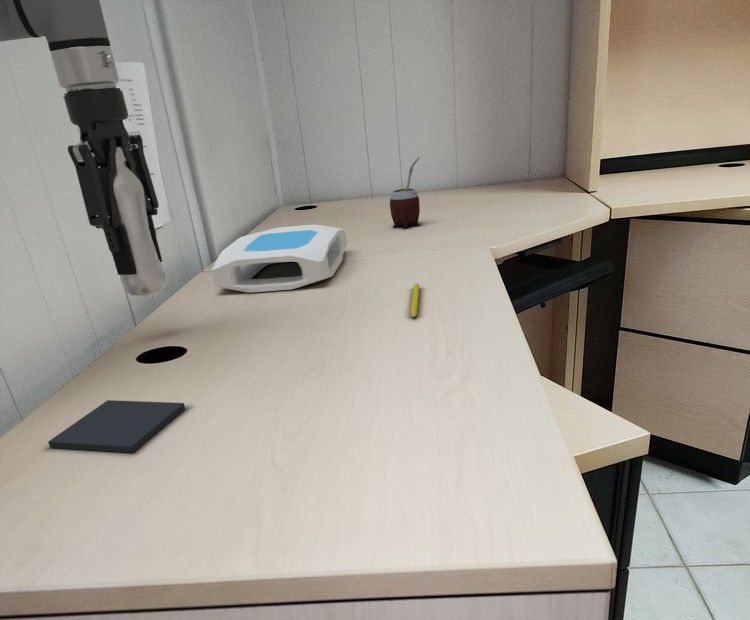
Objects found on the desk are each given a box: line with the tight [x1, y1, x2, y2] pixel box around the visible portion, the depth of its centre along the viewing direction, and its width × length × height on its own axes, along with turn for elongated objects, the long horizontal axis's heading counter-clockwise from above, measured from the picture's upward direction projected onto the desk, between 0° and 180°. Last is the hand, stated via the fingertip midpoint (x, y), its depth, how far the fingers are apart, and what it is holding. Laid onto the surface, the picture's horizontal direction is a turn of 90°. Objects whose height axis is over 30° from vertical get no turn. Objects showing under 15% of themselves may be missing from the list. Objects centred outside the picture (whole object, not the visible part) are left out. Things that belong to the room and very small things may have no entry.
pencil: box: [410, 283, 420, 318], centre depth 106 cm, size 16×1×1 cm, turn 175°
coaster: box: [47, 399, 186, 454], centre depth 76 cm, size 11×11×1 cm
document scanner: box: [210, 224, 347, 293], centre depth 131 cm, size 21×28×6 cm
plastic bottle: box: [108, 147, 167, 297], centre depth 96 cm, size 6×7×20 cm
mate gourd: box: [389, 157, 421, 230], centre depth 156 cm, size 8×8×15 cm
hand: (140, 267), depth 99 cm, fingers closed on plastic bottle, 6 cm apart
